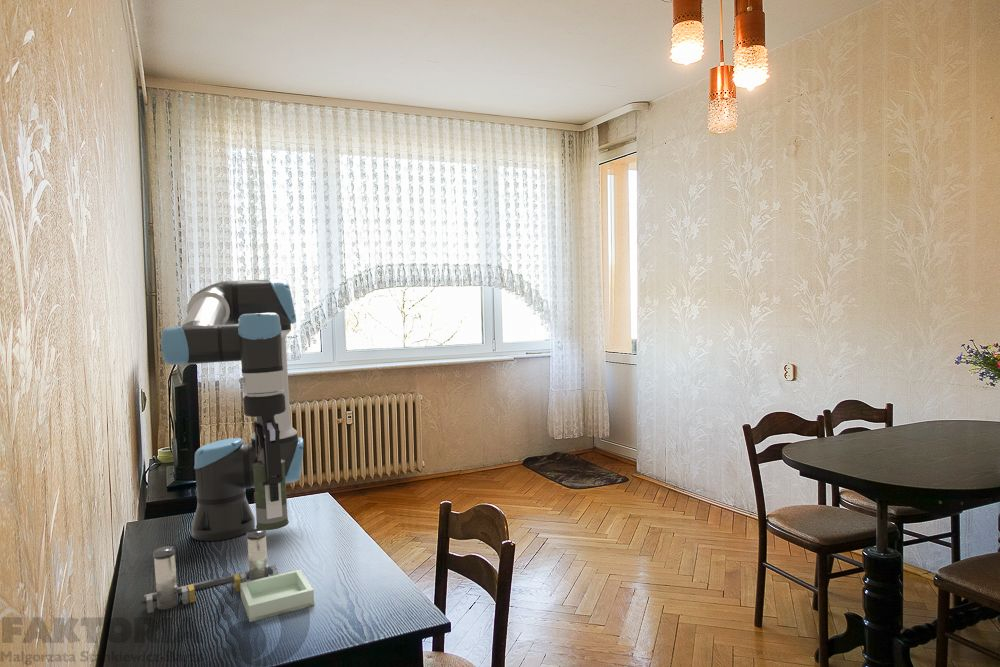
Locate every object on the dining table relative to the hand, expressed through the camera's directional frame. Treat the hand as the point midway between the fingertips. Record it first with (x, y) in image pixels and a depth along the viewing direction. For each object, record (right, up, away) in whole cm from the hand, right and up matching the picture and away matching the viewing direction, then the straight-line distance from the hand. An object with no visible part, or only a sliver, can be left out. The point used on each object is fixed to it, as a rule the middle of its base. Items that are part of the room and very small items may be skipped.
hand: (271, 512), depth 125 cm
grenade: (0, -3, 0) cm, 3 cm away
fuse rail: (-14, -18, +7) cm, 24 cm away
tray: (+1, -18, +1) cm, 18 cm away
